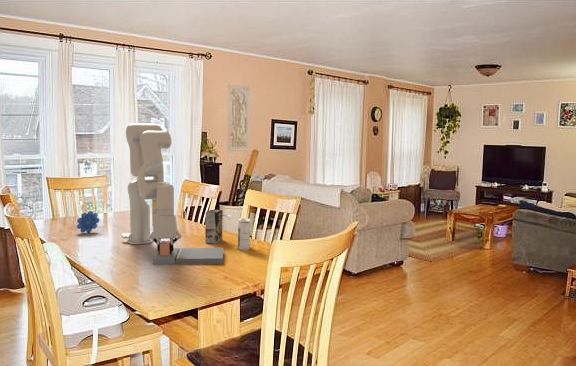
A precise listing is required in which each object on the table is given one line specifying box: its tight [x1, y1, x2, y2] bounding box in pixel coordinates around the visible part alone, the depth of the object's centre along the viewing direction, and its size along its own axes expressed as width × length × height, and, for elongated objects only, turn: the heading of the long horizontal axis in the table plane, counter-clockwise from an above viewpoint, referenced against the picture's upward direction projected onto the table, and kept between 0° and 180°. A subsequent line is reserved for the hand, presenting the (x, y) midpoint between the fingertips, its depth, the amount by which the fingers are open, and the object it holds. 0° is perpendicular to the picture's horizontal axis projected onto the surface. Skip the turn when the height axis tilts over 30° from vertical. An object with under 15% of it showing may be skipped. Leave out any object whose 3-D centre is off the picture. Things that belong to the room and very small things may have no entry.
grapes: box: [76, 210, 100, 233], centre depth 254 cm, size 12×7×12 cm, turn 121°
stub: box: [152, 240, 180, 265], centre depth 206 cm, size 9×18×7 cm, turn 7°
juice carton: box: [151, 199, 156, 227], centre depth 275 cm, size 8×9×19 cm
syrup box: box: [237, 217, 251, 251], centre depth 227 cm, size 6×6×14 cm
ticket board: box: [174, 247, 224, 265], centre depth 208 cm, size 20×18×3 cm
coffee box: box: [204, 209, 224, 244], centre depth 240 cm, size 9×6×16 cm
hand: (165, 252), depth 206 cm, fingers closed on stub, 4 cm apart
